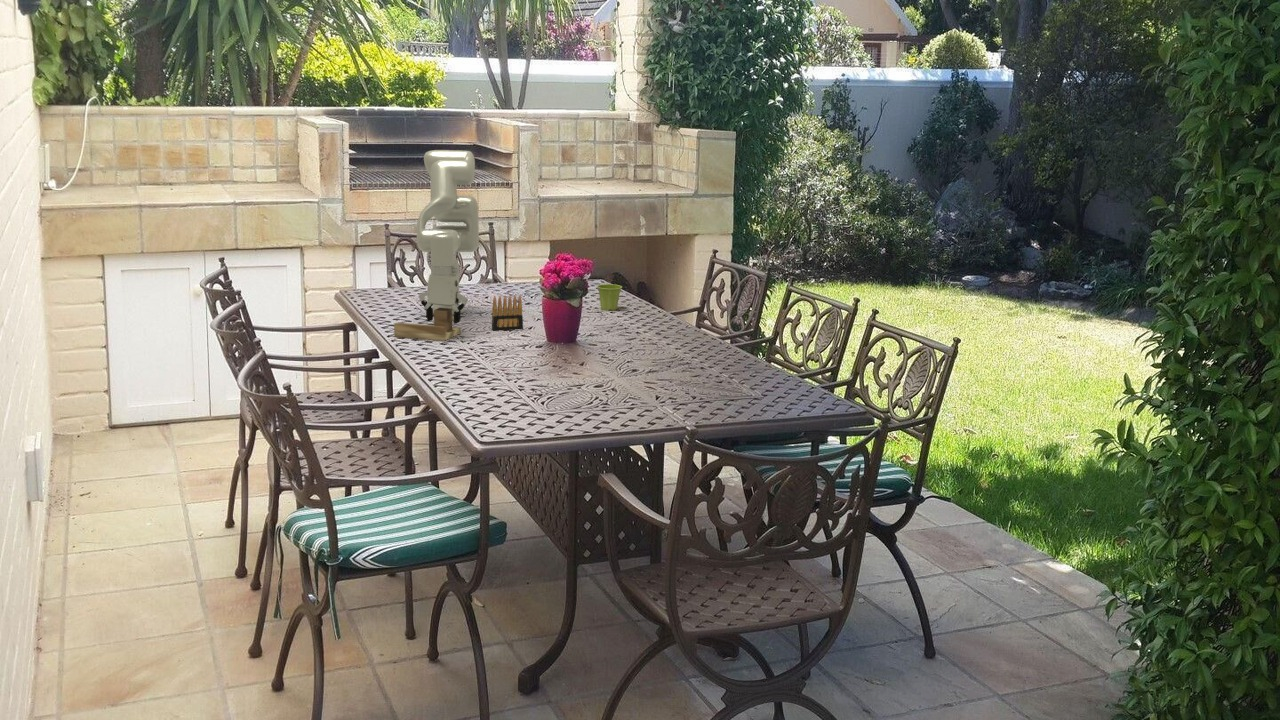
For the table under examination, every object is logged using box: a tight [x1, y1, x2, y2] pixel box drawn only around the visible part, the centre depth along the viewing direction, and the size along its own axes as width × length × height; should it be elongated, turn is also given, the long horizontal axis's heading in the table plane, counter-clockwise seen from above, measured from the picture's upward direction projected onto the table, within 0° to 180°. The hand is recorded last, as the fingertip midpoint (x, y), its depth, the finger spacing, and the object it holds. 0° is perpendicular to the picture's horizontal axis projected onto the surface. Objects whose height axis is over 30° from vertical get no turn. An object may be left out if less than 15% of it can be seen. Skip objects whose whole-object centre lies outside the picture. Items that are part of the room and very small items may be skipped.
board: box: [393, 322, 462, 342], centre depth 425 cm, size 13×18×4 cm
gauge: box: [433, 308, 454, 332], centre depth 427 cm, size 12×4×7 cm, turn 164°
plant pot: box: [596, 283, 623, 311], centre depth 476 cm, size 9×9×9 cm
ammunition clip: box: [491, 294, 524, 332], centre depth 436 cm, size 11×2×12 cm, turn 110°
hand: (443, 321), depth 424 cm, fingers open, 9 cm apart
